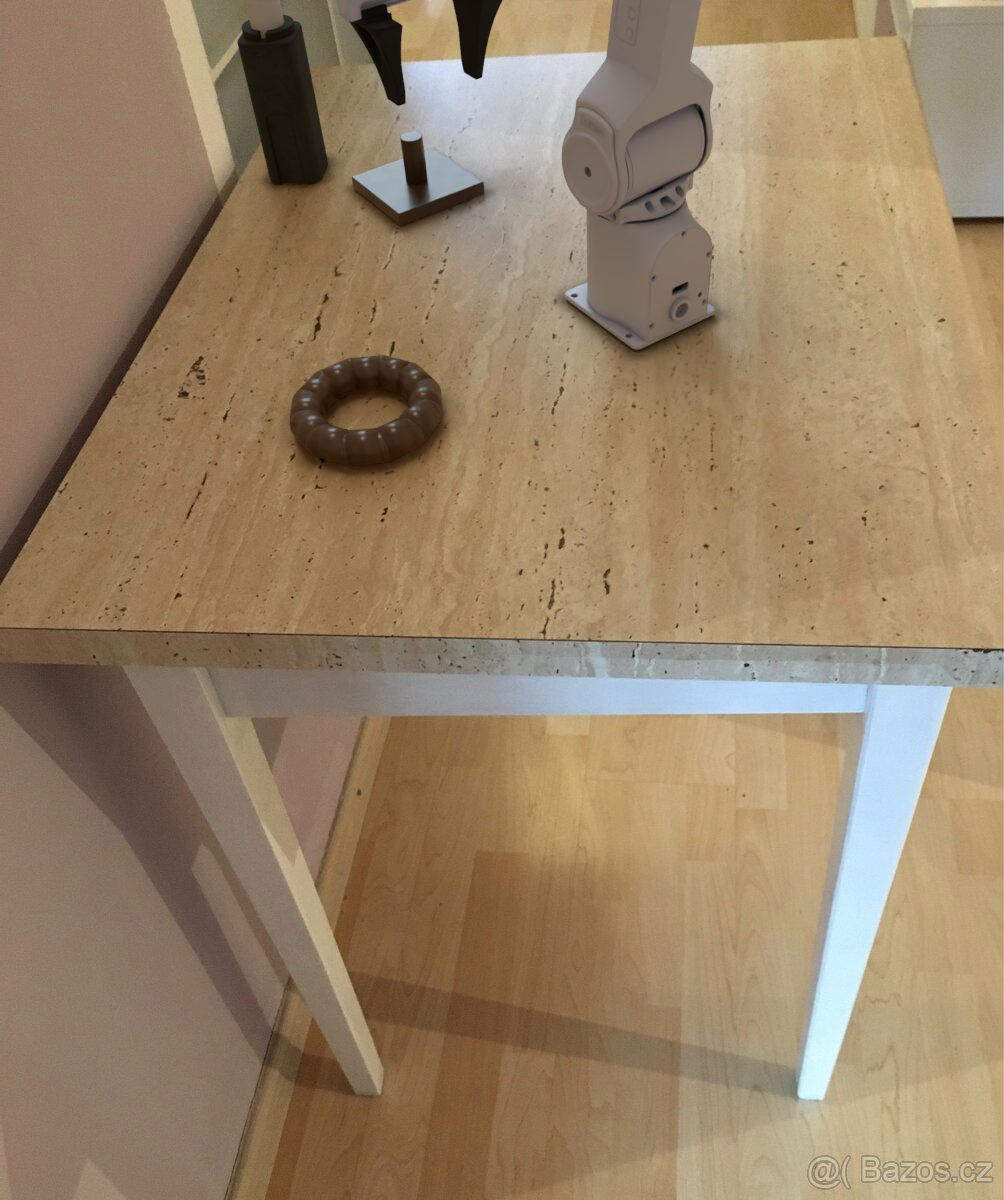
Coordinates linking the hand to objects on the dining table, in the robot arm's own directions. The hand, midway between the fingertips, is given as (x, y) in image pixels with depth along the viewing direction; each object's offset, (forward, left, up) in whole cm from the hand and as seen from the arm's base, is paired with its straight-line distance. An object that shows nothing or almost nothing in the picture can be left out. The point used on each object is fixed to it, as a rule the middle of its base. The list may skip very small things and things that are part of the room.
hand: (435, 87), depth 90 cm
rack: (+3, +2, -10) cm, 10 cm away
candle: (+14, +9, -10) cm, 19 cm away
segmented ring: (-24, +22, -9) cm, 34 cm away
